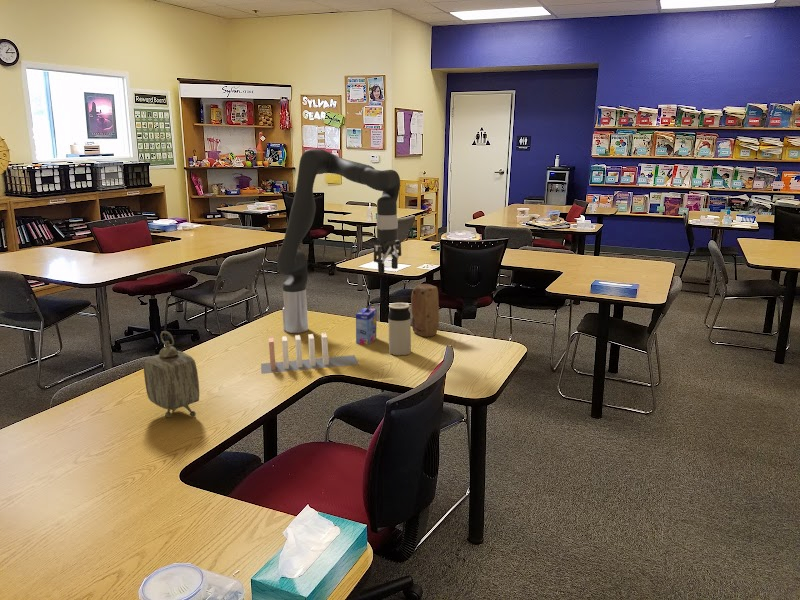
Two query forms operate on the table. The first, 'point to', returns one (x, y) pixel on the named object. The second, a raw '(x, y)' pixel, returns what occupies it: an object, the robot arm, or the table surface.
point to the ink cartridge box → (366, 325)
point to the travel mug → (399, 329)
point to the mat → (306, 365)
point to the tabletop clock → (171, 378)
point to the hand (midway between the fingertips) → (388, 270)
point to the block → (425, 310)
